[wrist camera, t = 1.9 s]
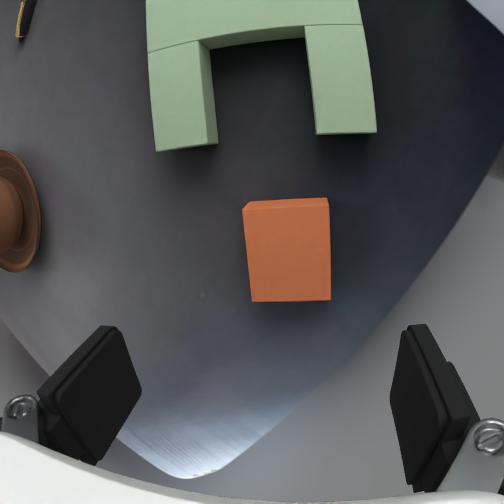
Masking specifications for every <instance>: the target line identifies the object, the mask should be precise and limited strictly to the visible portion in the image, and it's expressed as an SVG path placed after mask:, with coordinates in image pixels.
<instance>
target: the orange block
mask: <svg viewBox="0 0 504 504" xmlns="http://www.w3.org/2000/svg"><path fill="white" fill-rule="evenodd" d="M242 213H243V222H244V232H245V241H246V250H247V259H248V269H249V278H250V287H251V296H252V302H280V301H319V300H331V247H330V214H329V204H328V201H327V198H305V199H285V200H268V201H253V202H249V203H248V204H247V205H246V206H245V207H244V208H243V209H242Z"/></svg>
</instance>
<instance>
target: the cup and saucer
mask: <svg viewBox="0 0 504 504" xmlns="http://www.w3.org/2000/svg"><path fill="white" fill-rule="evenodd" d="M40 231H41V217H40V207H39V201H38V197H37V193H36V190H35V187H34V184H33V181H32V179H31V177H30V175H29V173H28V171H27V170H26V168H25V166H24V165H23V163H22V162H21V161H20V160H19V159H18V158H17V157H16V156H15V155H14V154H12V153H10V152H8V151H4V150H0V267H1V268H2V269H4V270H6V271H9V272H13V273H15V272H20V271H23V270H24V269H25V268H27V267H28V266H29V265H30V263H31V262H32V261H33V259H34V257H35V255H36V253H37V250H38V246H39V241H40Z"/></svg>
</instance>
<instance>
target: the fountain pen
mask: <svg viewBox="0 0 504 504" xmlns="http://www.w3.org/2000/svg"><path fill="white" fill-rule="evenodd" d="M35 2H36V0H25V2H24V1H23V2H22V3H21V7H20V11H19V16H18V21H17V26H16V37H17V38H18V39H19V42H20V44H21V42H22V41H23V39H24V38H25V36H26V33H27V30H28V27H29V24H30V20H31V17H32V13H33V10H34V6H35ZM23 3H24V6H23ZM22 6H23V9H22ZM21 10H22V14H21ZM20 15H21V19H20ZM19 20H20V24H19ZM18 25H19V27H18Z"/></svg>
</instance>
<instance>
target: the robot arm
mask: <svg viewBox="0 0 504 504" xmlns="http://www.w3.org/2000/svg"><path fill="white" fill-rule="evenodd" d="M141 392H142V390H141V386H140V383H139V380H138V378H137V375H136V372H135V370H134V367H133V364H132V361H131V358H130V356H129V353H128V350H127V347H126V344H125V341H124V338H123V335H122V333H121V332H120V331H119V330H118V329H117V327H115V326H100V327H99V328H98V329H97V330H96V331H95V332H94V333H93V334H92V335H91V336H90V337H89V338H88V339H87V340H86V341H85V342H84V343H83V344H82V345H81V346H80V347H79V348H78V349H77V350H76V351H75V352H74V353H73V354H72V355H71V356H70V357H69V358H68V359H67V360H66V361H65V362H64V363H63V364H62V365H61V366H60V367H59V368H58V369H57V370H56V371H55V372H54V374H53V375H52V376H51V377H50V378H49V379H48V380H47V381H46V382H45V383H44V384H43V385H42V386H41V387H40V389H39V390H38V391H37V394H38V396H39V397H40V400H39V402H38V401H37V400H36V399H35V397H33V396H31V395H20V396H17V397H15V398H13V399H12V400H11V401H9V402H8V403H7V405H6V406H5V408H4V411H3V417H1V418H0V504H504V421H501V420H499V419H494V418H489V419H483V420H480V418H479V416H478V414H477V411H476V409H475V407H474V405H473V403H472V401H471V399H470V397H469V395H468V393H467V391H466V389H465V387H464V385H463V383H462V381H461V379H460V377H459V375H458V373H457V371H456V369H455V367H454V365H453V364H452V363H451V362H447V361H446V359H445V358H444V356H443V354H442V352H441V350H440V348H439V346H438V344H437V343H436V341H435V339H434V337H433V335H432V333H431V332H430V330H429V328H428V326H427V325H426V324H419V325H409V326H408V328H407V330H404V331H402V333H401V339H400V345H399V351H398V356H397V362H396V367H395V372H394V377H393V382H392V387H391V391H390V405H391V409H392V414H393V418H394V422H395V427H396V431H397V436H398V440H399V446H400V451H401V455H402V460H403V466H404V471H405V477H406V482H407V484H408V485H411V484H412V486H413V492H414V493H416V492H421V491H425V493H419V494H411V495H403V496H394V497H387V498H378V499H367V500H355V501H336V502H276V501H259V500H248V499H238V498H228V497H221V496H213V495H207V494H201V493H195V492H190V491H184V490H179V489H174V488H170V487H165V486H161V485H156V484H152V483H148V482H144V481H141V480H137V479H133V478H130V477H126V476H123V475H120V474H116V473H113V472H110V471H107V470H104V469H101V468H98V467H95V465H96V464H97V462H98V461H99V460H102V459H103V457H104V455H105V454H106V452H107V450H108V449H109V447H110V446H111V444H112V442H113V441H114V439H115V437H116V436H117V434H118V432H119V431H120V429H121V427H122V426H123V424H124V423H125V421H126V419H127V418H128V416H129V414H130V413H131V411H132V409H133V408H134V406H135V405H136V403H137V401H138V400H139V398H140V396H141ZM79 459H80V460H81V461H82V462H81V461H79Z"/></svg>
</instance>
